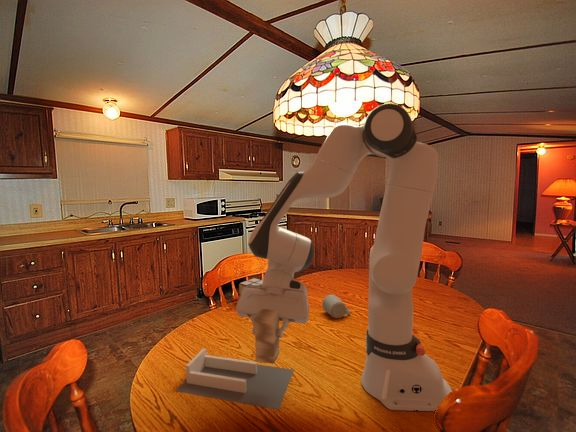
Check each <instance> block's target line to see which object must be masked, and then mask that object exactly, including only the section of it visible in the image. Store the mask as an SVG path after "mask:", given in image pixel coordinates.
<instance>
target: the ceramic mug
mask: <svg viewBox="0 0 576 432" xmlns="http://www.w3.org/2000/svg"><path fill="white" fill-rule="evenodd" d="M322 308H323V310H324V311H325V312H326V313H327V314H329V315H330V316H331V317H332V318H334V319H340V318H342V317H344V315H350V313H351V310H350V309H349V308H347V306H346V304H345V303H344V301H343V300H341V299H340V298H339V297H338V296H337V295H335V294H328V295H326V296H325V297H324V298H323V301H322Z"/></svg>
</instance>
